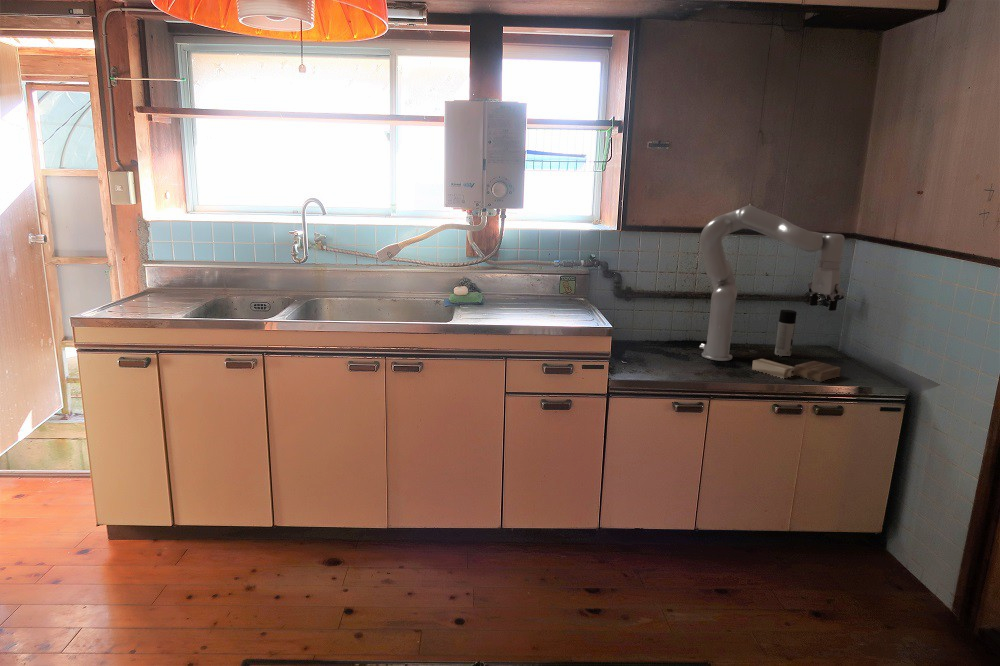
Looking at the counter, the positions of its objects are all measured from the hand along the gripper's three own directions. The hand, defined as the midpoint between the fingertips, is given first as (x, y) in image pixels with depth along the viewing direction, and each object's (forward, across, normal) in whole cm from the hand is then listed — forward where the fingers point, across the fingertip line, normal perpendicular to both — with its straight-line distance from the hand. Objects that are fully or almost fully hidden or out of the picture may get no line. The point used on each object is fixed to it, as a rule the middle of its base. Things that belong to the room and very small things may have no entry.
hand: (822, 307), depth 260 cm
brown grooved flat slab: (+26, +7, -5) cm, 28 cm away
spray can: (+26, -22, +4) cm, 34 cm away
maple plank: (+26, 0, -21) cm, 34 cm away
